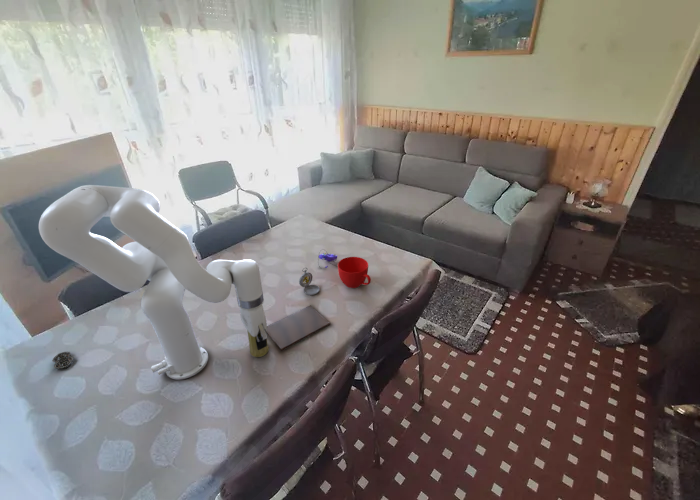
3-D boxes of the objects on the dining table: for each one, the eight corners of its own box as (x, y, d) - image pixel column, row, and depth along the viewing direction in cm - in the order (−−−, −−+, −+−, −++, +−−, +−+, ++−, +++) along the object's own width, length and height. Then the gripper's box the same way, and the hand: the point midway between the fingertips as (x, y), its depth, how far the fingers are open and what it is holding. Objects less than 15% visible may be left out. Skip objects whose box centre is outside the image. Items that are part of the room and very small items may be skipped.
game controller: (334, 249, 160) (342, 254, 151) (331, 264, 161) (339, 271, 153) (315, 247, 155) (322, 253, 147) (312, 263, 157) (319, 270, 148)
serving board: (281, 351, 108) (281, 349, 108) (264, 329, 117) (263, 327, 116) (329, 324, 119) (329, 322, 118) (310, 307, 128) (310, 305, 127)
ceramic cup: (358, 301, 131) (358, 281, 125) (332, 282, 142) (331, 263, 137) (380, 288, 138) (381, 269, 133) (354, 272, 149) (354, 253, 144)
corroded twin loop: (70, 350, 108) (68, 348, 108) (76, 363, 104) (75, 361, 103) (51, 359, 105) (50, 357, 105) (57, 373, 101) (55, 370, 100)
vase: (271, 344, 110) (266, 312, 103) (265, 358, 105) (260, 325, 98) (254, 342, 111) (248, 310, 104) (247, 356, 106) (240, 323, 99)
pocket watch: (317, 297, 133) (315, 277, 128) (297, 294, 135) (295, 274, 130) (322, 285, 140) (321, 266, 135) (304, 283, 141) (302, 264, 136)
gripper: (227, 289, 101) (236, 332, 110) (250, 319, 89) (258, 364, 98) (250, 281, 105) (257, 322, 114) (275, 308, 93) (280, 352, 102)
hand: (258, 341), depth 106 cm, fingers closed on vase, 5 cm apart
